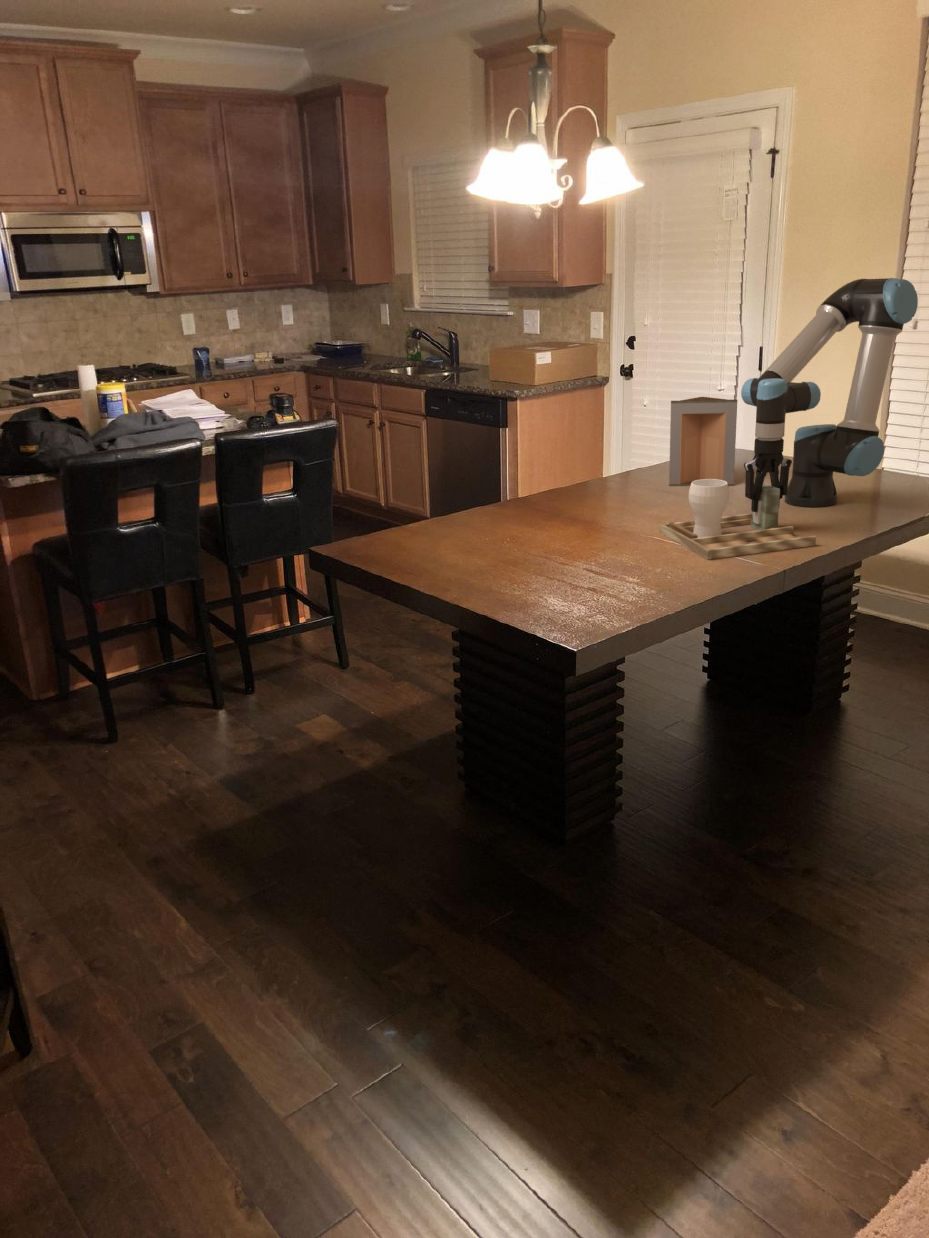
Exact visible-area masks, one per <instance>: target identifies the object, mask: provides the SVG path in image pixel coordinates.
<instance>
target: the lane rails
mask: <svg viewBox="0 0 929 1238" xmlns="http://www.w3.org/2000/svg"><path fill="white" fill-rule="evenodd" d="M749 518H752V512H750V513H743V514H736V515H727V516H722V518H721V522H724V521H732V520H741V519H749ZM674 523H675V524H677V525H679V526H681V527H684V526H692V525H695V519H694V520H687V521H677V522H674ZM794 528H795V527H794V526H793V525H791V526H790V525H789V526H783V527H781V526H780V527H778V528H772V529H765V530H750V531H743V532H734V533H727V534H722V535H717V536H709V537H701V538H693V539H690V538H688V537H686V536H684V535H683V534H681V533H679V532H677V531H675V530H673V529H671V528H670V527H669V523H661V524H660V525H659V533H660V534H662V535H663V536H665V537H667V538H668V539H670V540H671V541H674V542H676V543H677V544H678V545H681V546H682V547H684V548H686V549H688V550H690V551H691V552H693V553H695V554H697V555H698V556H700V557H701V558H704V559H706V560H708V561H709V560H716V559H722V558H730V557H738V556H739V557H740V556H744V555H745V556H746V555H752V554H762V553H768V552H775V551H783V550H791V549H797V548H798V549H799V548H807V547H814V546H816V543H817V536H816V535H809V536H803V537H802V536H799V537H798V536H795V535H794ZM753 541H755V543H750V542H753Z"/></svg>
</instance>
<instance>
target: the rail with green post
mask: <svg viewBox="0 0 929 1238" xmlns="http://www.w3.org/2000/svg"><path fill="white" fill-rule="evenodd" d="M779 497H780V489H779V488H776V487H774V486H771V484H769V483H763V486H762V490H761V494H760V498H759V500H761V501H762V506H761V524H757V523H754V522H753V511H752V510H751V513H752V518H749V519H741V520H732V521H724V522H721V523H720V524H721V529H724V528H725V529H726V528H730V527H732V528H733V527H738V526H747V525H751V528H752V529H754V530H755V531H757V530H765V529H772V528H779V527H778V525H779V511H780V510H779V509H780V506H779ZM675 523H676V522H672V521H671V522H668V524H669V527H670V528H671V529H673V530H675V531H677V532H679V533H681V534H683V535H684V536H686V537H688V538H690V539H693V538H698V535H696V534H694V533H693V531H694V527H695V525H692V526H684V527H681V526H679V525H677V524H675Z"/></svg>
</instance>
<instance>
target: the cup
mask: <svg viewBox="0 0 929 1238" xmlns="http://www.w3.org/2000/svg"><path fill="white" fill-rule="evenodd" d="M729 499H730V489H729V486H728V483H727V482H726V481H723V480H718V479H701V480H695V481H693V482H692V483H691V486H689V490H688V502H689V506H690V508H691V511H692V513H693V516H694V520H695V527H694V531H692V533H694V534H696V535H698V538H701V537H709V536H717V535H723V534H722V528H721V524H720V523H721V518H722V517H723V514H724V512H725V511H726V508H727V506H728V503H729Z"/></svg>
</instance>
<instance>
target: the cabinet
mask: <svg viewBox="0 0 929 1238" xmlns="http://www.w3.org/2000/svg"><path fill="white" fill-rule="evenodd" d="M737 419H738V399H737V398H735V399H728V398H727V399H726V398H717V397H709V396H708V397H707V396H698V397H692V398H687V399H681V400H670V428H669V429H670V430H669V434H670V436H669V473H668V481H669V482H668V486H669V487H690V486H691V483H692V482H693V481H695V480H701V479H718V480H723V481H726V482H727V483H728V487H734V486H735V485H734V483H735V463H736V440H737V439H736V438H737Z"/></svg>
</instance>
